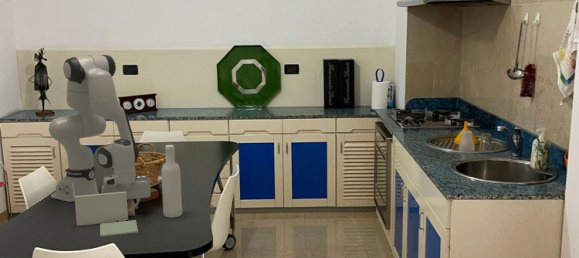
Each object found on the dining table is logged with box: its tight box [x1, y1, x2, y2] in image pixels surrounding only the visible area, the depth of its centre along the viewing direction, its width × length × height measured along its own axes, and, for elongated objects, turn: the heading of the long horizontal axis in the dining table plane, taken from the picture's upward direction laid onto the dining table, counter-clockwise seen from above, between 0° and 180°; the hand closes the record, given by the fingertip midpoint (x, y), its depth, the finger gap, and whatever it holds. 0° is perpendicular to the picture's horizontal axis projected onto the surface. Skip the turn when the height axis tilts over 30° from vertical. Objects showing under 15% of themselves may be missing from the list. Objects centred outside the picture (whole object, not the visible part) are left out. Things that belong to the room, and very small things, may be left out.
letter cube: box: [127, 199, 136, 217], centre depth 249 cm, size 6×6×6 cm
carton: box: [140, 187, 159, 203], centre depth 275 cm, size 8×16×4 cm, turn 46°
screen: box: [74, 191, 129, 227], centre depth 238 cm, size 20×2×12 cm, turn 108°
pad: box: [99, 219, 139, 238], centre depth 231 cm, size 14×14×1 cm
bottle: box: [160, 144, 183, 219], centre depth 245 cm, size 8×8×30 cm
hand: (126, 209), depth 249 cm, fingers closed on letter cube, 6 cm apart
